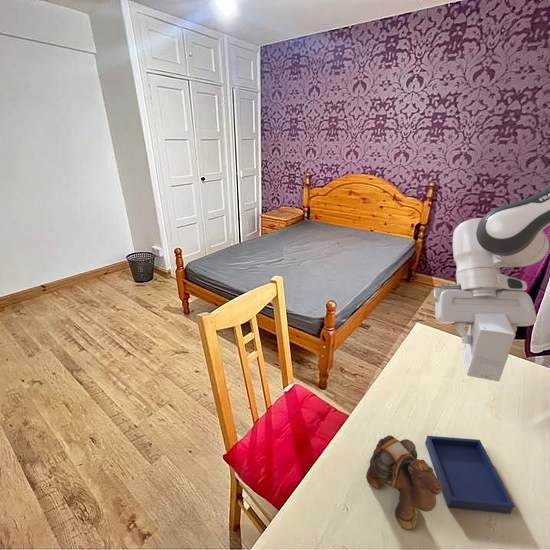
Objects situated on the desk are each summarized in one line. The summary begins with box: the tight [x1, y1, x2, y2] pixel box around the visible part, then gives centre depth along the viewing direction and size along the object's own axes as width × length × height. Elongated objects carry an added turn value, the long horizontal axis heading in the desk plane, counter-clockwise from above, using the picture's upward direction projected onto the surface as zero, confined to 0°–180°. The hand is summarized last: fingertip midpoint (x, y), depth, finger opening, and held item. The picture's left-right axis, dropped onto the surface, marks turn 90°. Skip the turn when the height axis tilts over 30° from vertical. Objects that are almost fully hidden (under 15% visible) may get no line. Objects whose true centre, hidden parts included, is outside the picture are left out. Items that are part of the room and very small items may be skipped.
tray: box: [424, 435, 515, 514], centre depth 63 cm, size 11×13×3 cm
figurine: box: [365, 435, 442, 530], centre depth 58 cm, size 9×15×15 cm, turn 26°
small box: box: [461, 314, 516, 382], centre depth 69 cm, size 8×6×13 cm
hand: (487, 344), depth 68 cm, fingers closed on small box, 7 cm apart
